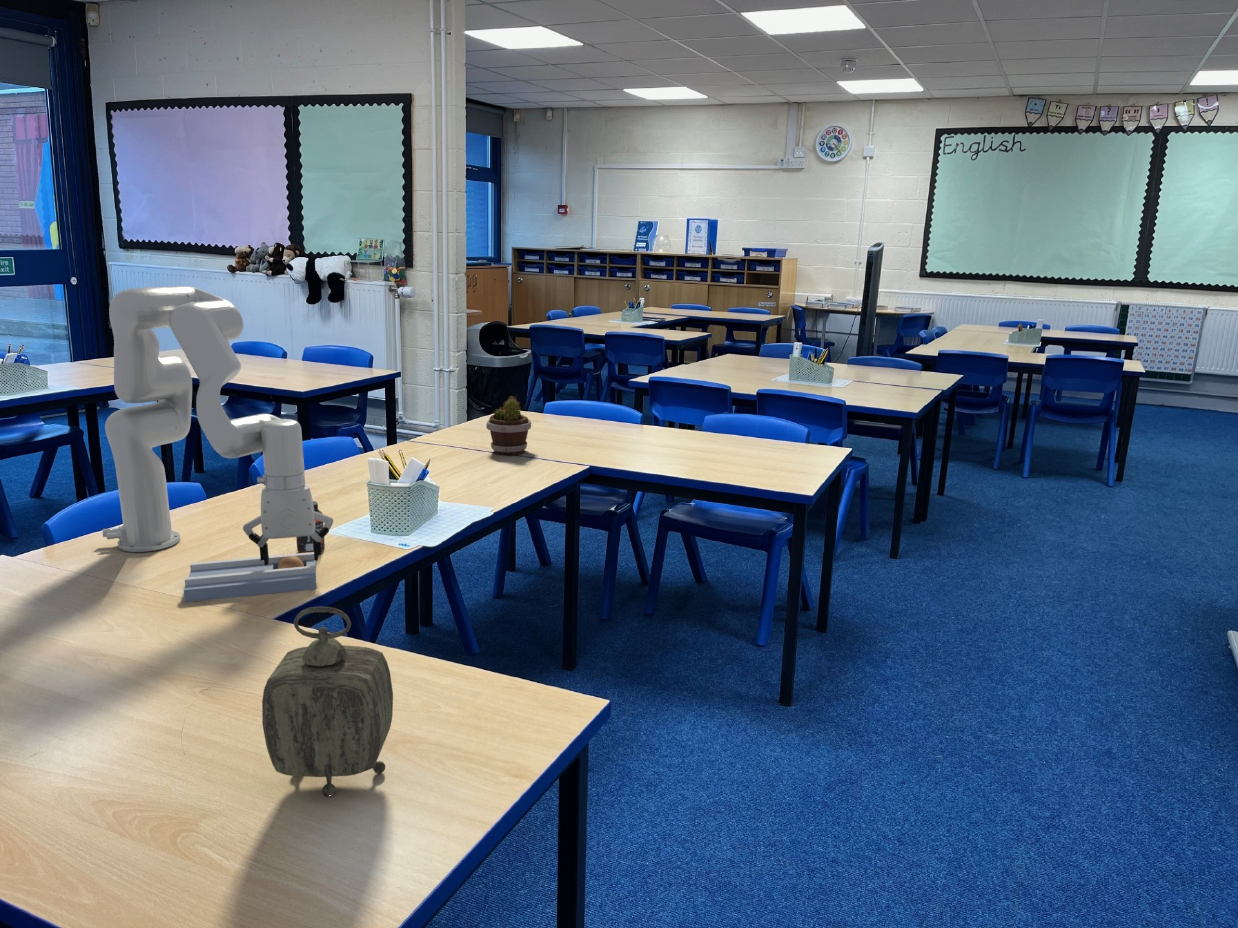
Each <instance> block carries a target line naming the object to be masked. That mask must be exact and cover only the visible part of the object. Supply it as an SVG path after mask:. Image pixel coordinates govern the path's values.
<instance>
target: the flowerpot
mask: <svg viewBox="0 0 1238 928" xmlns="http://www.w3.org/2000/svg"><path fill="white" fill-rule="evenodd" d="M502 405H503V406H499V407H498V408H499V409H498V408H497V409H496V410H494V411H493V412H494V413H493V414H492V415H490V417H489V420H487V421H486V426H485V427H486V429H487V430H488V431H490V437H491V440H492V442H491V443H490V447H491V450H493V452H494V453H495V454H496V455H502V456H512V455H514V456H515V455H517V456H518V455H521V454H523V453H525V452H526V451H525V450H527V446H528V442H527V439H528V435H529V434H528V433H529V430H531V427H532V422H531V420H530V419H529V418H528V417H527V416H525V415H523V414H522V412H521V406H520V405H521V403H520V402H519V401H518V400H517V397H515V396H514V397H513V396H511V395H510V396H509V397H508V398H507V400H506V401H503V404H502Z"/></svg>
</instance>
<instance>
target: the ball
mask: <svg viewBox="0 0 1238 928" xmlns="http://www.w3.org/2000/svg"><path fill="white" fill-rule="evenodd" d="M294 567H304V564H303V562H302V560H301V559H300V558H298V557H296V556H287V557H285V558H283V559H282V560H281V561H280V563H279V565H278V569H283V568H294Z"/></svg>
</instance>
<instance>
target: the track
mask: <svg viewBox="0 0 1238 928" xmlns="http://www.w3.org/2000/svg"><path fill="white" fill-rule="evenodd" d="M287 556H296V557H298V558H300V559H301V560H302V562H303V564H304V567H294V568H283V569H278V565H279V563H280V561H281V560H282V559H283V558H285V557H287ZM189 566H190V567H189V568H190V572H189V575H188V577H185V579H184V588H183V595H184V598H183V599H184V603H189V602H199V601H200V602H201V601H209V600H219V599H229V598H230V599H231V598H238V597H239V598H240V597H249V596H259V595H269V594H279V593H287V592H289V593H290V592H299V591H309V590H316V589H317V561H316V560H314V552H310V553H299V552H298V553H291V554H290V553H289V554H279V555H277V554H275V555H269V563H268V565H264V560H261V558H260V556H255V557H254V556H253V557H244V558H231V559H224V560H223V559H222V560H213V561H202V562H201V561H199V562H190V565H189Z"/></svg>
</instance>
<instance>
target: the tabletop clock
mask: <svg viewBox="0 0 1238 928" xmlns="http://www.w3.org/2000/svg"><path fill="white" fill-rule="evenodd" d="M312 613H313V614H314V613H330V614H335V615H338V616H340V617H341V618H343V619H344V620H345V622H346V627H345V628H344V629H342V630H340V631H337V632H336V631H335V632H328V628H327V627H325V626H322V627H320V628H318V630H317V631H318V632H312V631H306V630H304V629H302V628H300V626H299V624H298V623H299V620H300V619H301V618H302V617H303V616H306V615H308V614H312ZM351 626H352V621H351V619H350V617H349V616H348V615H347V613H345V612H344V611H342V610H340V609H338V608H336V607H331V606H313V607H312V606H311V607H308V608H305V609H303V610H301V611H299V612H298V613H297V614H296V615H295V617H294V619H293V627H294V628H295V630H296V631H297V632H298V633H299V634H301V636H303V637H304V636H305V637H308V638H310V639H315V640H313V641H311V643H310V644H308V646H301V647H299V648H295V649H292V650H289V651H288V652H286V654H285V655H284V657H283V658H282V659H281V661H280V662H279V664H278V665H277V666H276V667H275V669H274V670H273V672H272V673H271V674H270V676H269V677H268V679H267V681H266V684H265V686H264V688H263V694H262V705H261V706H262V708H261V709H262V711H261V712H262V716H261V717H262V720H261V721H262V729H263V730H262V731H263V735H264V740H265V746H266V749H267V752H268V756H269V758H270V761H271V764H272V766H273V768H274V770H275V771H276V772H277V773H278V774H282V775H285V776H288V777H289V776H290V777H291V776H292V777H307V778H325V779H326V784H324V786H323V787H322V789H321V791H322V794H323V795H324V796H325V795H326V796H325V797H327V796H329V795H332V794H333V795H334V794H335V793H336V786H335V785H334V784H333V783H332V780H333V779H332V778H333V777H347V776H348V777H349V776H355V775H359V774H361V773H364V772H366V771H367V772H368V771H369V770H373V772H374V773H375V774H378V775H379V774H383V772H385V770H386V764H385V763H384V761H381V760H378V759H379V757H380V754H381V752H382V749H383V746H384V744H385V742H386V740H387V737H388V734H389V731H390V729H391V726H392V721H393V713H394V712H393V706H394V705H393V704H394V691H393V685H392V677H391V676H392V675H391V671H390V668H389V664H388V661H387V658H386V657H385V654H383V652H382V651H380V650H377V649H375V648H371V647H367V646H359V645H358V646H357V645H343V644H342V643H341V642H340V641H339V640H337V639H336V638H339V637H343V636H344V635H345V634H346V633H348V632H349V631H350V629H351ZM334 792H335V793H334ZM333 795H332V796H333Z"/></svg>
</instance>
